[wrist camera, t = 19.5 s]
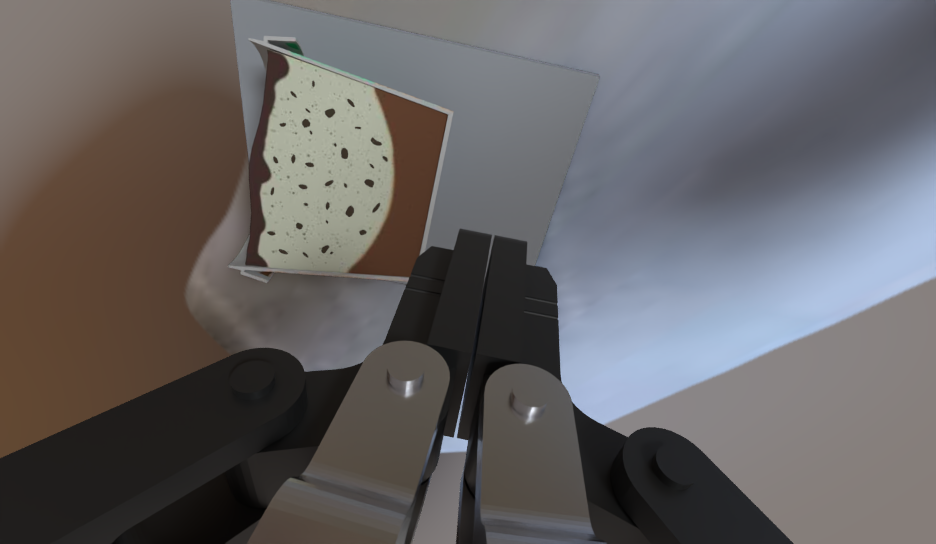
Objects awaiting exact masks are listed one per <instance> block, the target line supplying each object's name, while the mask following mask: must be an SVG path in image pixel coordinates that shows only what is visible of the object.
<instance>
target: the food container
mask: <svg viewBox="0 0 936 544" xmlns="http://www.w3.org/2000/svg"><path fill="white" fill-rule="evenodd" d="M249 41H250V42H251V43H253V44H254V46H255V47H256V49H257V50H258V52H259V54H260V56H261V58H262V61H263V64H264V67H265V71H266V80H265V90H264V99H263V106H262V111H261V116H260V121H259V125H258V128H257V132H256V135H255V138H254V142H253V145H252V150H251V155H250V160H249V184H250V199H251V225H250V234H249V236H248V238H247V240H246V242H245V244H244V246H243V248H242V249H241V251H240V253H239V254H238V255H237V257H236V258H235V259H234V260H233V261H232V262H231V263H230V264H229V265H228V267H229V268H234V269H239V270H241V272H240V274H242V275H245V276H248V277H251V278H253V279H256V280H259V281H262V282H265V283H268V281H269V280H270V279H271V277H272V276H273V274H274V272H280V273H294V274H308V275H321V276H335V277H349V278H363V279H377V280H391V281H404V282H408V280H409V277H410V276H411V272H412V269H413V267H414V264H415V262H416V259H417V257H418V256H420V255H421V254H422V253H423V252H425V248H426V244H427V239H428V234H429V229H430V224H431V219H432V214H433V209H434V205H435V200H436V195H437V190H438V185H439V180H440V175H441V171H442V166H443V161H444V156H445V151H446V146H447V141H448V137H449V132H450V127H451V122H452V117H453V112H454V111H451V110H449V109H446V108H443V107H441V106H438V105H435V104H432V103H430V102H427V101H424V100H421V99H419V98H416V97H413V96H411V95H408V94H405V93H402V92H400V91H397V90H394V89H392V88H389V87H386V86H383V85H381V84H378V83H375V82H372V81H370V80H367V79H364V78H362V77H359V76H356V75H353V74H351V73H348V72H345V71H342V70H340V69H337V68H334V67H332V66H329V65H326V64H323V63H321V62H318V61H315V60H313V59H310V58H307V57H304V53H303V50H302V48H301V45H300V43H299V42H298V40H297V39H296V38H295V37H277V36H264V41H261V40H256V39H251V38H249Z"/></svg>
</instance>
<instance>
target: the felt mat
mask: <svg viewBox="0 0 936 544" xmlns="http://www.w3.org/2000/svg"><path fill="white" fill-rule="evenodd" d="M230 3H231V11H232V20H233V28H234V37H235V46H236V54H237V63H238V71H239V80H240V89H241V98H242V106H243V114H244V124H245V132H246V141H247V150H248V158H249V160H250V155H251V150H252V145H253V142H254V138H255V135H256V132H257V128H258V125H259V121H260V116H261V111H262V106H263V99H264V90H265V80H266V71H265V67H264V64H263V61H262V58H261V56H260V54H259V52H258V50H257V49H256V47H255V46H254V44H253V43H251V42H250V41H249V38H251V39H256V40H261V41H264V36H277V37H295V38H296V39H297V40H298V42H299V43H300V45H301V48H302V50H303V53H304V57H307V58H310V59H313V60H315V61H318V62H321V63H323V64H326V65H329V66H332V67H334V68H337V69H340V70H342V71H345V72H348V73H351V74H353V75H356V76H359V77H362V78H364V79H367V80H370V81H372V82H375V83H378V84H381V85H383V86H386V87H389V88H392V89H394V90H397V91H400V92H402V93H405V94H408V95H411V96H413V97H416V98H419V99H421V100H424V101H427V102H430V103H432V104H435V105H438V106H441V107H443V108H446V109H449V110H451V111H454V112H453V117H452V122H451V127H450V132H449V137H448V141H447V146H446V151H445V156H444V161H443V166H442V171H441V175H440V180H439V185H438V190H437V195H436V200H435V205H434V209H433V214H432V219H431V224H430V229H429V234H428V239H427V244H426V248H425V251H426V250H427V249H428V248H430V247H431V246H435V247H440V248H445V249H450V250H454V247H455V243H456V240H457V236H458V232H459V229H460V228H461V229H466V230H471V231H476V232H481V233H486V234H491V235H492V238H491V244H490V250H489V256H488V262H487V267H486V272H487V268H488V263H489V258H490V254H491V249H492V245H493V240H494V236H495V235H497V236H502V237H507V238H512V239H518V240H523V241H527V261H526V264H527V265H532V266H535V264H536V261H537V258H538V255H539V252H540V249H541V247H542V244H543V241H544V238H545V235H546V232H547V229H548V226H549V223H550V220H551V218H552V215H553V212H554V209H555V206H556V203H557V200H558V197H559V194H560V191H561V189H562V186H563V183H564V180H565V177H566V174H567V171H568V168H569V165H570V162H571V160H572V157H573V154H574V151H575V148H576V145H577V142H578V139H579V136H580V133H581V131H582V128H583V125H584V122H585V119H586V116H587V113H588V110H589V107H590V104H591V102H592V99H593V96H594V93H595V90H596V87H597V84H598V81H599V78H600V76H599V75H598V74H594V73H590V72H586V71H581V70H577V69H572V68H568V67H563V66H559V65H554V64H550V63H546V62H541V61H537V60H532V59H528V58H523V57H519V56H514V55H510V54H505V53H501V52H497V51H492V50H488V49H483V48H479V47H474V46H470V45H465V44H461V43H456V42H452V41H448V40H443V39H439V38H434V37H430V36H425V35H421V34H416V33H412V32H407V31H403V30H399V29H394V28H390V27H385V26H381V25H376V24H372V23H367V22H363V21H358V20H354V19H350V18H345V17H341V16H336V15H332V14H327V13H323V12H318V11H314V10H309V9H305V8H301V7H296V6H292V5H287V4H283V3H278V2H274V1H269V0H230ZM485 277H486V273H485ZM388 281H391V280H388ZM393 282H398V283H402V284H407V282H404V281H393ZM484 282H485V279H484ZM483 286H484V285H483Z"/></svg>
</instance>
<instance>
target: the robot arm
mask: <svg viewBox="0 0 936 544" xmlns="http://www.w3.org/2000/svg"><path fill="white" fill-rule="evenodd" d="M491 238H492V235H491V234H486V233H481V232H476V231H471V230H466V229H461V228H460V229H459V232H458V236H457V240H456V243H455V247H454V250H450V249H445V248H440V247H435V246H431V247H430V248H428V249H427V250H426V251H425V252H423V253H422V254H421V255H420V256H418V257H417V259H416V262H415V264H414V267H413V269H412V272H411V276H410V277H409V280H408V282H407V285H406V289H405V290H404V293H403V295H402V298H401V300H400V303H399V305H398V308H397V311H396V313H395V316H394V318H393V321H392V323H391V326H390V329H389V331H388V334H387V336H386V339H385V341H384V343H383V345H382V346H380V347H378V348H376V349H375V350H374V351H372V352H371V353H370V354H369V355H368V356H367V357H366V359H365V360H364V362H362V363H360V364H358V365H355V366H352V367H348V368H344V369H336V370H323V371H309V372H304V369H303V366H302V365H301V363H300V362H299V361H298V360H297V359H296V358H295V357H294V356H292V355H291V354H289V353H287V352H285V351H282V350H278V349H273V348H256V349H249V350H245V351H242V352H239V353H236V354H234V355H231V356H229V357H227V358H225V359H222V360H220V361H218V362H216V363H213V364H211V365H209V366H207V367H205V368H202V369H200V370H198V371H196V372H193V373H191V374H189V375H187V376H184V377H182V378H180V379H178V380H175V381H173V382H171V383H168V384H166V385H164V386H162V387H160V388H157V389H155V390H153V391H150V392H148V393H146V394H144V395H142V396H139V397H137V398H135V399H133V400H130V401H128V402H126V403H124V404H121V405H119V406H117V407H115V408H112V409H110V410H108V411H106V412H103V413H101V414H99V415H97V416H94V417H92V418H90V419H88V420H85V421H83V422H81V423H79V424H76V425H74V426H72V427H70V428H67V429H65V430H63V431H61V432H58V433H56V434H54V435H52V436H49V437H47V438H45V439H43V440H40V441H38V442H36V443H34V444H31V445H29V446H27V447H25V448H22V449H20V450H18V451H16V452H14V453H11V454H9V455H7V456H5V457H3V458H0V544H412V542H413V539H414V536H415V532H416V529H417V525H418V522H419V518H420V514H421V512H422V508H423V505H424V501H425V498H426V494H427V491H428V487H429V484H430V480H431V476H432V473H433V472H434V470H435V468H436V466H437V463H438V460H439V455H440V450H441V445H442V440H443V435H444V436H449V437H454V432H455V428H456V423H457V419H458V414H459V410H460V405H461V401H462V396H463V392H464V387H465V383H466V388H465V394H464V399H463V405H462V411H461V417H460V423H459V429H458V435H457V438H460V439H465V440H468V446H467V453H466V460H465V465H464V469H463V473H462V477H461V482H460V493H459V507H458V522H457V536H456V544H793V543H792V542H791V541H790V539H789V538H787V537H786V535H785V534H784V533H783V532H781V530H780V529H778V528H777V526H776V525H775V524H773V522H772V521H771V520H769V518H768V517H767V516H766V515H765V514H764V513H763V512H762V511H761V510H760V509H759V508H758V507H757V506H756V505H755V504H754V503H753V502H752V501H751V500H750V499H749V498H748V497H747V496H746V495H745V494H744V493H743V492H742V491H741V490H740V489H739V488H738V487H737V486H736V485H735V484H734V483H733V482H732V481H731V480H730V479H729V478H728V477H727V476H726V475H725V474H724V473H723V472H722V471H721V470H720V469H719V468H718V467H717V466H716V465H715V464H714V463H713V462H712V461H711V460H710V459H709V458H708V457H707V456H706V455H705V454H704V453H703V452H702V451H701V450H700V449H699V448H698V447H696V446H695V445H694V444H693V443H691V442H690V441H689V440H687V439H686V438H684V437H682V436H680V435H678V434H676V433H674V432H672V431H669V430H666V429H662V428H655V427H654V428H650V427H649V428H643V429H640V430H637V431H635V432H634V433H632V434H631V435H630V436H629V437H626V436H624V435H622V434H620V433H618V432H616V431H614V430H612V429H610V428H608V427H606V426H604V425H602V424H600V423H598V422H596V421H595V420H593V419H591V418H590V417H588V416H587V415H585V414H584V413H583V412H582V411H580V410H579V409H578V408H577V407H576V406H575V405H574V404H573V402H572V401H571V397H570V395H569V393H568V391H567V389H566V388H565V386H564V385H563V384H562V382H561V375H560V352H559V328H558V320H557V319H558V306H557V285H556V283H555V281H554V280H553V278H552V276H551V275H550V273H549V271H548V270H547V268H542V267H537V266H532V265H527V264H526V261H527V241H523V240H518V239H512V238H507V237H502V236H497V235H495V236H494V240H493V245H492V249H491V254H490V258H489V263H488V268H487V272H486V267H487V262H488V256H489V250H490V244H491ZM485 273H486V277H485ZM484 279H485V282H484ZM483 285H484V286H483ZM468 369H469V370H468ZM467 374H468V376H467ZM466 378H467V382H466Z"/></svg>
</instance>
